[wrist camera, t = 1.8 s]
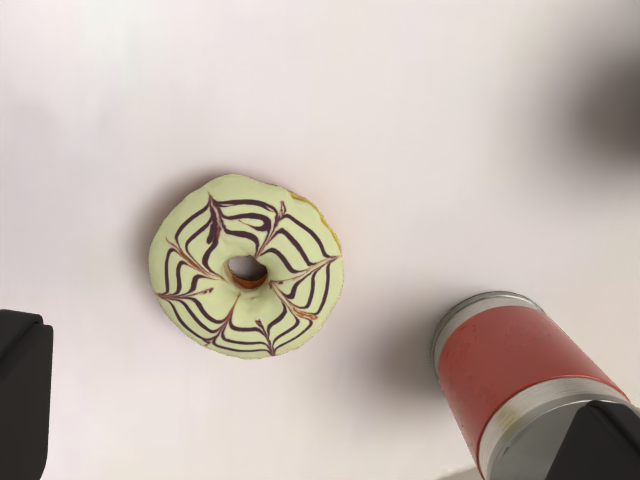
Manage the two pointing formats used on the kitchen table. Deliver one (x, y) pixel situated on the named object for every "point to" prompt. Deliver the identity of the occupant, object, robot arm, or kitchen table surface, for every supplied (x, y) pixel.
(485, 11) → the kitchen table surface
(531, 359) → the tin can
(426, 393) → the kitchen table surface
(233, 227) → the decorated donut
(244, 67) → the kitchen table surface
